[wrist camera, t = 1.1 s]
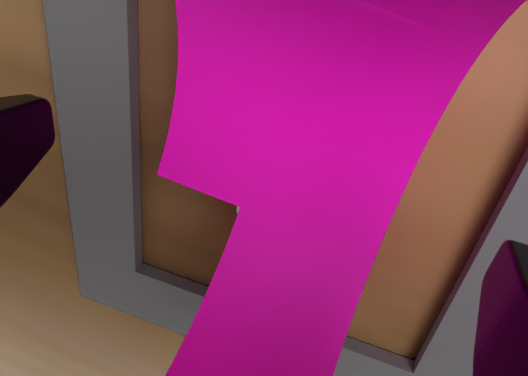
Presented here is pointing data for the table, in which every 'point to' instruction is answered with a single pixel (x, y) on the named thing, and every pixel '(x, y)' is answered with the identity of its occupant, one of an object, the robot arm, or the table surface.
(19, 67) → the table surface
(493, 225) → the frame
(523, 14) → the table surface
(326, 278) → the toy block
